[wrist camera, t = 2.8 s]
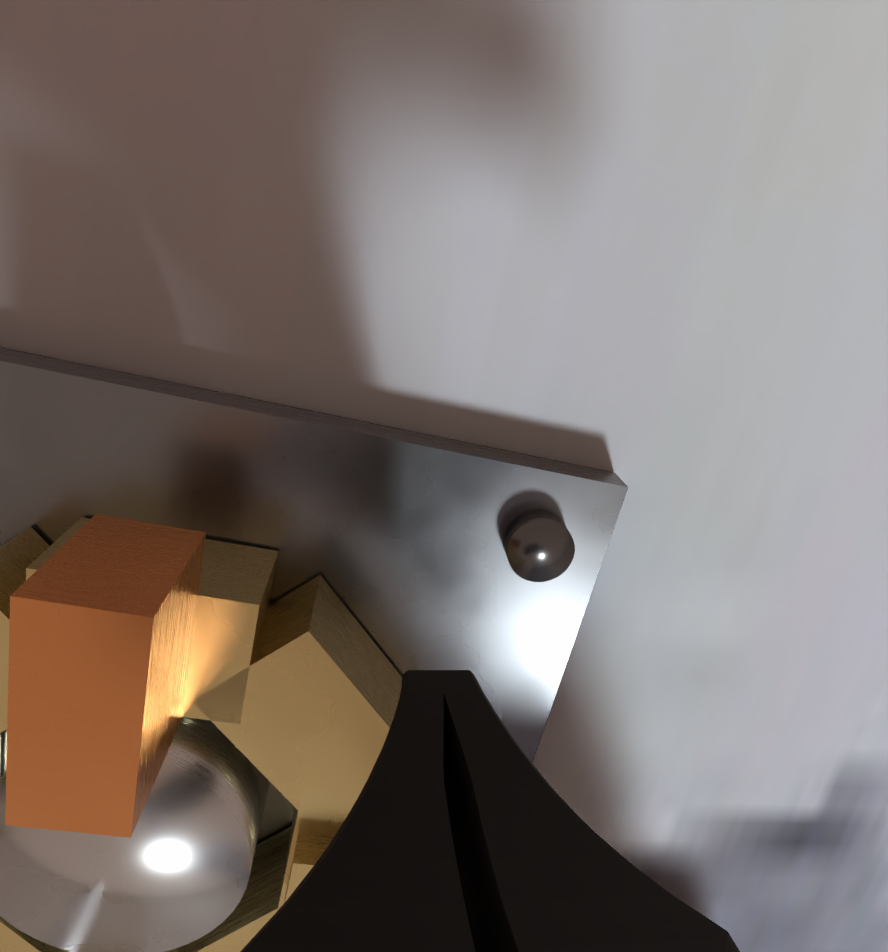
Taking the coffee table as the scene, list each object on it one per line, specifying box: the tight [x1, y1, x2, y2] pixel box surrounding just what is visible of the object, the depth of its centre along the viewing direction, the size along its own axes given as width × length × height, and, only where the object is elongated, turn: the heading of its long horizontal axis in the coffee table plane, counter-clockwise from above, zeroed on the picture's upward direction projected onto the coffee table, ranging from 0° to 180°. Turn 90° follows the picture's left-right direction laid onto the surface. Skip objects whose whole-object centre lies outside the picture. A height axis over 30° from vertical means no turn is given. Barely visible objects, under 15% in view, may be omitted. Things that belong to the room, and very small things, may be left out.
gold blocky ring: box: [0, 513, 402, 952], centre depth 15 cm, size 14×15×5 cm
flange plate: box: [0, 348, 628, 952], centre depth 16 cm, size 20×20×4 cm
